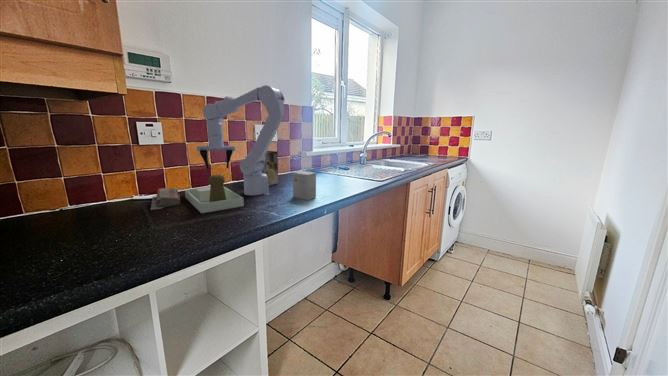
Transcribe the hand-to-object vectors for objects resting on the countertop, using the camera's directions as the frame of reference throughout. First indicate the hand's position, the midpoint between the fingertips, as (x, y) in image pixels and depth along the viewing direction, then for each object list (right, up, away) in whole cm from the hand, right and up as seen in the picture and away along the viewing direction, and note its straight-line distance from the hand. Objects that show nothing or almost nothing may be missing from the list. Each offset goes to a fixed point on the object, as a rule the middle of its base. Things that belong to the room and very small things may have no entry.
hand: (217, 168), depth 116 cm
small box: (+36, -12, -1) cm, 38 cm away
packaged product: (-12, -15, -15) cm, 24 cm away
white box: (+1, -12, -10) cm, 16 cm away
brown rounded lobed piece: (+8, -15, -19) cm, 26 cm away
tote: (+4, -14, -14) cm, 20 cm away
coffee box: (+16, -7, +20) cm, 26 cm away
